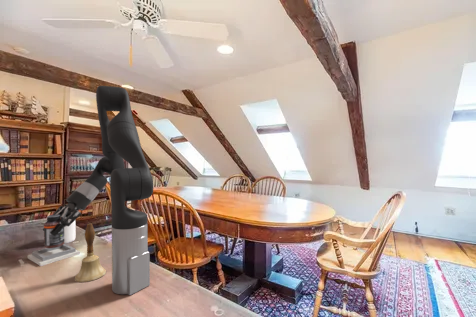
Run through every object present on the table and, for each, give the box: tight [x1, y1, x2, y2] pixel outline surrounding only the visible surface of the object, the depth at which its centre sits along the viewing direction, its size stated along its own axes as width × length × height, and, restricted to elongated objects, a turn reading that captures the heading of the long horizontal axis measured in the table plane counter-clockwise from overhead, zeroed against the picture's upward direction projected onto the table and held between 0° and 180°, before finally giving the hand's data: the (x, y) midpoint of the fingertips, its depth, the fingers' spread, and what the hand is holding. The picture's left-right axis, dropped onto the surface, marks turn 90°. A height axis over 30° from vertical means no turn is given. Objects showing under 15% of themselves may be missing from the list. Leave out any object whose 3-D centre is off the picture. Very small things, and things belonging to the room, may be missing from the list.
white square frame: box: [27, 243, 81, 267], centre depth 89 cm, size 12×12×2 cm
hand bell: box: [74, 222, 107, 283], centre depth 74 cm, size 8×8×16 cm
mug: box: [64, 220, 77, 244], centre depth 105 cm, size 12×8×10 cm
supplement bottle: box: [43, 214, 64, 249], centre depth 89 cm, size 6×6×11 cm
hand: (48, 232), depth 87 cm, fingers closed on supplement bottle, 6 cm apart
